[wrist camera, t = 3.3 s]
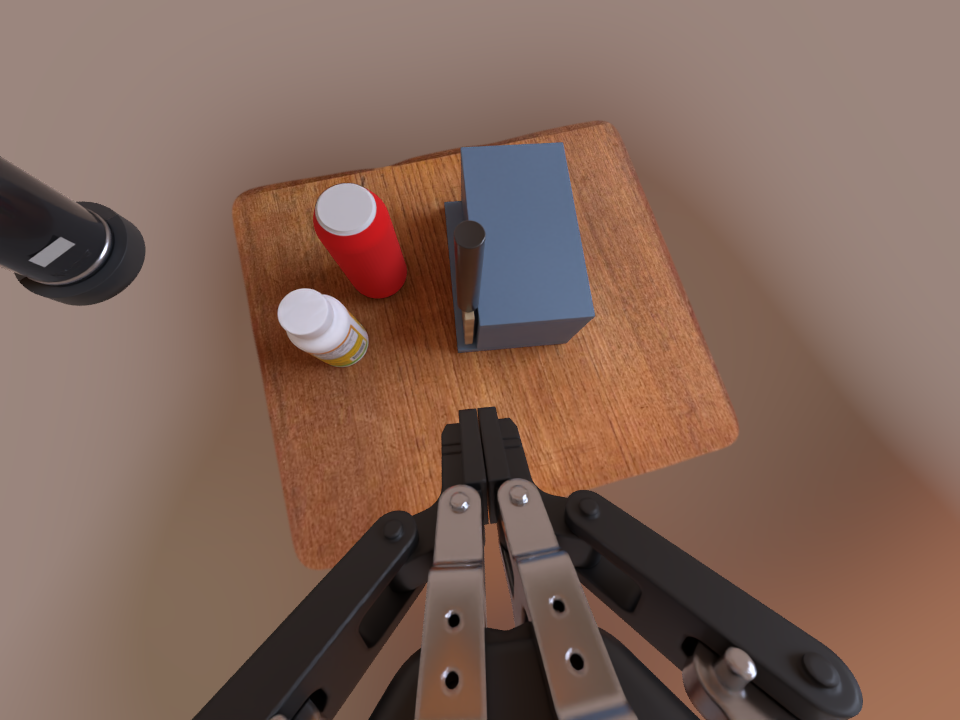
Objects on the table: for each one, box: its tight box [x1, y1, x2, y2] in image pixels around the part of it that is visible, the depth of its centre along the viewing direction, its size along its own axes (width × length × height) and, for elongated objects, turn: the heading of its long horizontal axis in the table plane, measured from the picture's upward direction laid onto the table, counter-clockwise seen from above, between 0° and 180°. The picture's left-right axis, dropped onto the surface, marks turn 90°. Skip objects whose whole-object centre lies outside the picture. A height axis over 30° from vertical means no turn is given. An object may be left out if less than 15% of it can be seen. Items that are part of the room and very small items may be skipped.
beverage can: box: [313, 183, 407, 298], centre depth 33 cm, size 6×6×12 cm
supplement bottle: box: [278, 288, 369, 367], centre depth 32 cm, size 5×5×10 cm
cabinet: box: [444, 142, 595, 353], centre depth 35 cm, size 12×18×9 cm, turn 6°
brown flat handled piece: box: [454, 220, 486, 344], centre depth 28 cm, size 2×8×18 cm, turn 6°
